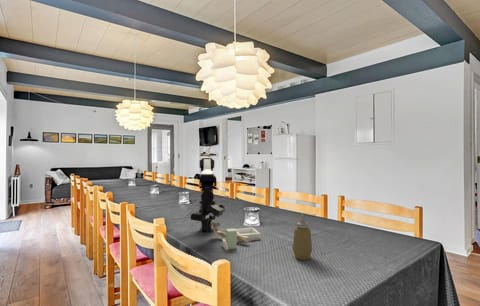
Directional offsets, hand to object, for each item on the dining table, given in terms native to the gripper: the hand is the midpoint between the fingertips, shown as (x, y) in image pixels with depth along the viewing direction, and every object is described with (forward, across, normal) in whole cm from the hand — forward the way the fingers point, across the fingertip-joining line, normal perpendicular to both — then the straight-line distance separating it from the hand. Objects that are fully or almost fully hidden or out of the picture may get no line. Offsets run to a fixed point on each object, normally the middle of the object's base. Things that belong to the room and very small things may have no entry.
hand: (206, 231), depth 133 cm
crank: (+4, +6, -9) cm, 11 cm away
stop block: (+5, -1, -14) cm, 15 cm away
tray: (+5, +16, -14) cm, 21 cm away
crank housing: (+5, +3, -12) cm, 13 cm away
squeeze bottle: (+5, +3, -46) cm, 46 cm away
